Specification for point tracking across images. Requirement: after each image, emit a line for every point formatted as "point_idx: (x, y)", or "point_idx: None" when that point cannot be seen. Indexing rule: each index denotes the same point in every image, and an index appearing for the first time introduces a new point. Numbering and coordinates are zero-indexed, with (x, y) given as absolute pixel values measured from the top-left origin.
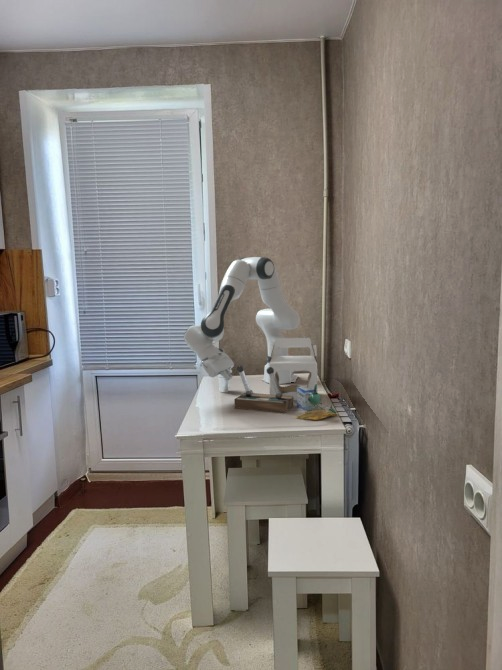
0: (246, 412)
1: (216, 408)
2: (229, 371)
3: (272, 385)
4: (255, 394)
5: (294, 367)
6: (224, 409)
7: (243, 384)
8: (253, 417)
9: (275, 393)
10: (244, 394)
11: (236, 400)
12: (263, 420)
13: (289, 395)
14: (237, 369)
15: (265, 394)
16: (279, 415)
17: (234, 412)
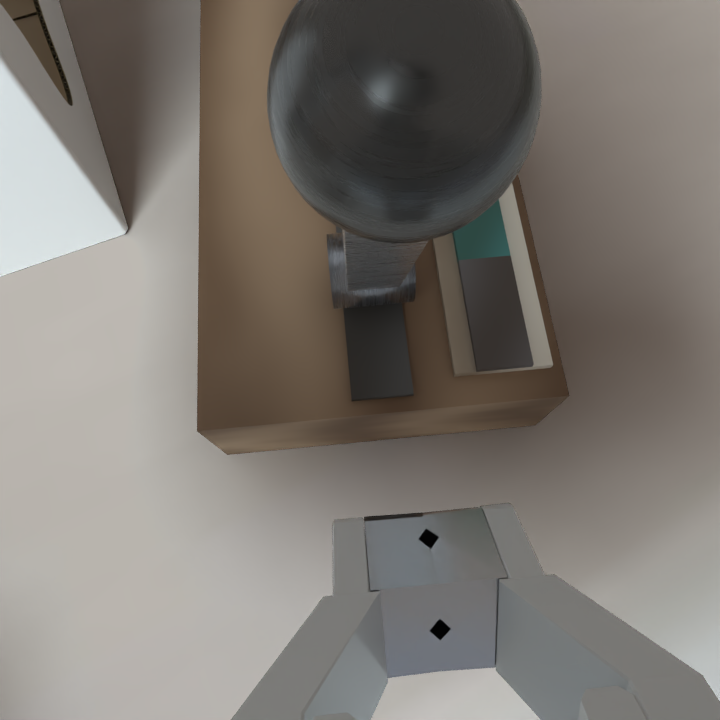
0: (602, 251)
1: (659, 628)
2: (287, 679)
3: (38, 86)
4: (253, 264)
5: None
6: (639, 508)
7: (412, 265)
8: (693, 141)
9: (82, 137)
10: (299, 388)
11: (557, 374)
12: (710, 54)
13: (63, 50)
14: (527, 152)
15: (216, 168)
16: (532, 11)
17: (668, 351)
